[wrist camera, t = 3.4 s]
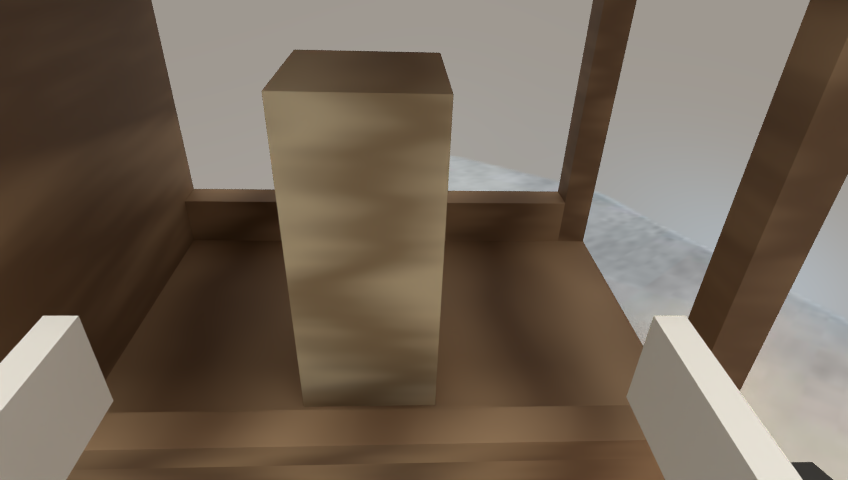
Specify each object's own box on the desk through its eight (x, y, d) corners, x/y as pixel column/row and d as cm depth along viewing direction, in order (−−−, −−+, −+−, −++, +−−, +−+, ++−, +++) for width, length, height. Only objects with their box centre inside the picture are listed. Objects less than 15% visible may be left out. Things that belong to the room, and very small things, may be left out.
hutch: (70, 579, 21) (-511, -326, 7) (199, 318, 34) (75, -168, 21) (654, 561, 22) (1054, -241, 9) (556, 316, 36) (654, -144, 22)
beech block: (303, 406, 20) (261, 90, 14) (320, 320, 24) (294, 49, 18) (434, 404, 20) (453, 94, 14) (428, 319, 24) (440, 52, 18)
